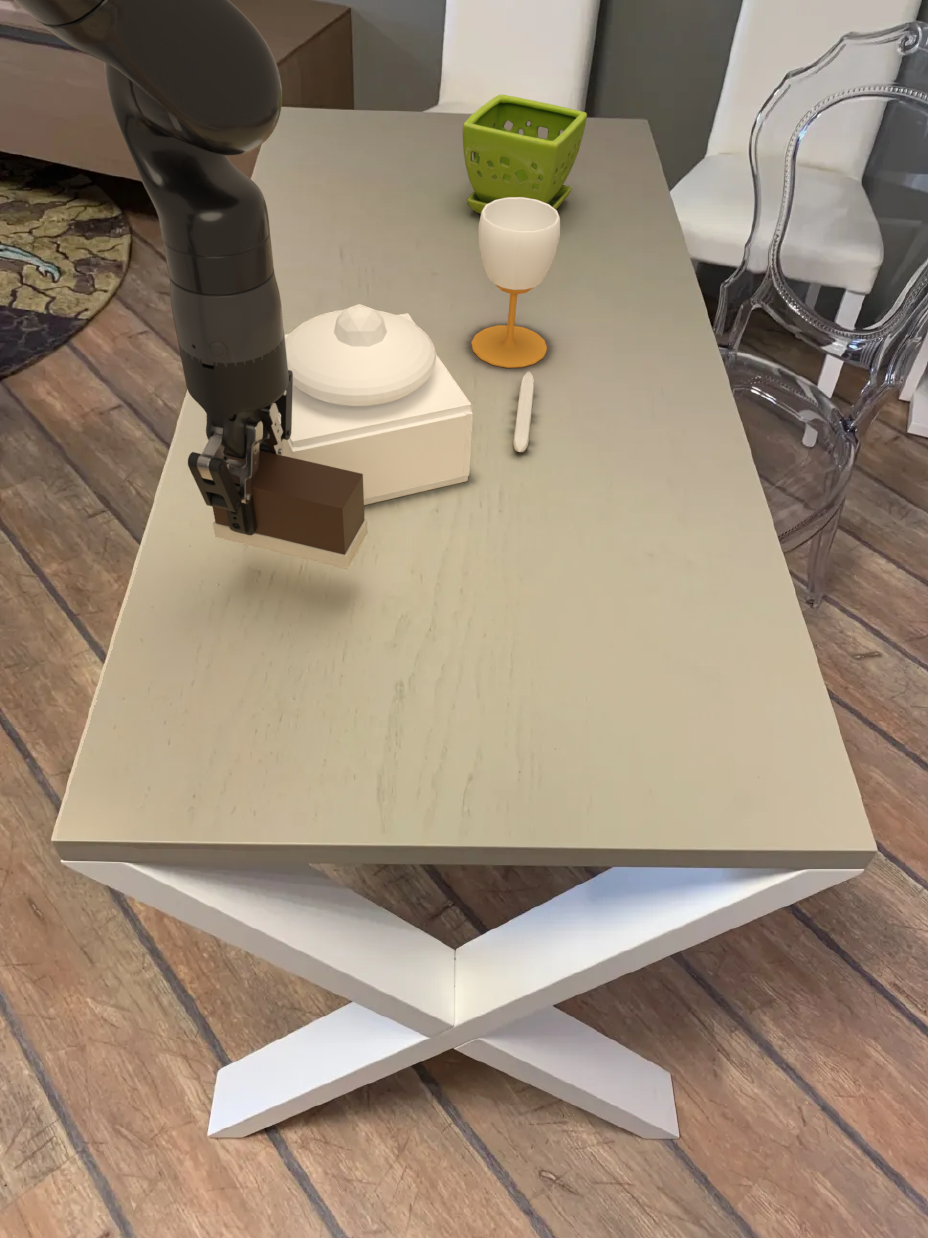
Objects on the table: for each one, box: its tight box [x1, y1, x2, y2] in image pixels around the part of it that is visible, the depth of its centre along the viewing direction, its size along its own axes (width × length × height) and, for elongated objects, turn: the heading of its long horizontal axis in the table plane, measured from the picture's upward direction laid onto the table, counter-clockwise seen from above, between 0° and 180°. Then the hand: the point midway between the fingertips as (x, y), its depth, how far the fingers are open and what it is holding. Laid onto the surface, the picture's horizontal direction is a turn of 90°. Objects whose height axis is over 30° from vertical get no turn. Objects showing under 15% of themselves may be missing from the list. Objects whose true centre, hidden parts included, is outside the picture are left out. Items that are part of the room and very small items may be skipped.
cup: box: [470, 197, 561, 369], centre depth 106 cm, size 9×9×16 cm
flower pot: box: [462, 94, 588, 215], centre depth 133 cm, size 14×14×13 cm
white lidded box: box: [277, 303, 474, 506], centre depth 93 cm, size 18×18×16 cm
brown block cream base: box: [212, 450, 368, 570], centre depth 78 cm, size 12×5×6 cm, turn 74°
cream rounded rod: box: [512, 371, 535, 453], centre depth 103 cm, size 2×14×2 cm, turn 174°
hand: (257, 510), depth 80 cm, fingers closed on brown block cream base, 4 cm apart
